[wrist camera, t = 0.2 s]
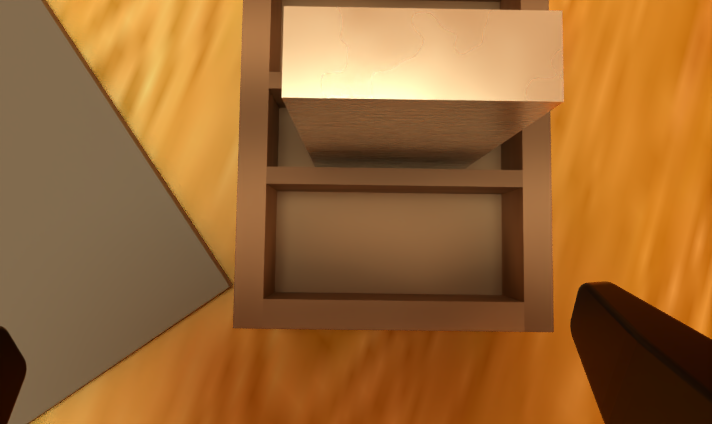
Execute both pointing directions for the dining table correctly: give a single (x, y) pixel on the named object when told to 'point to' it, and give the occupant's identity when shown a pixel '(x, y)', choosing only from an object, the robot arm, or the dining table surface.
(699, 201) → the dining table surface
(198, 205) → the dining table surface
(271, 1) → the slot box
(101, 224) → the rubber mat
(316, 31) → the wooden block
